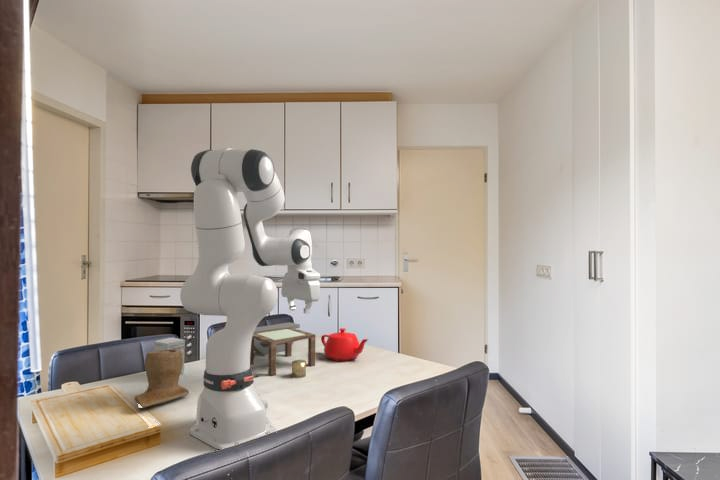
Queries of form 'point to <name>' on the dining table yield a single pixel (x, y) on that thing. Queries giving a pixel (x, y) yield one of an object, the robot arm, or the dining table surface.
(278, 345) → the grey anvil
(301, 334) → the trapdoor
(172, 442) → the dining table surface
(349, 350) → the teapot
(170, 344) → the supplement box
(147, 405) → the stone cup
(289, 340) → the frame
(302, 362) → the cylinder
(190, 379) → the dining table surface
